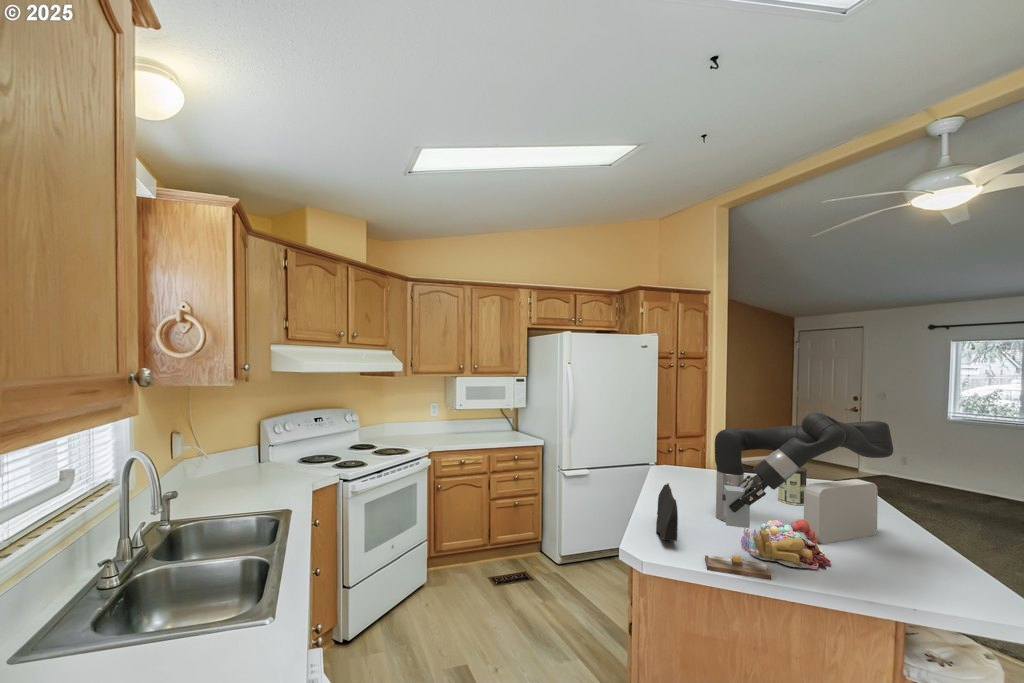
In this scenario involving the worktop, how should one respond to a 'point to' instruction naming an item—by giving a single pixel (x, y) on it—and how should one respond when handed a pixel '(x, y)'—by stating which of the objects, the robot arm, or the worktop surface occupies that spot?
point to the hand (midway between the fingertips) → (729, 506)
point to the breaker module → (743, 514)
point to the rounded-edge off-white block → (841, 509)
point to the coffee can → (793, 488)
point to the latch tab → (737, 558)
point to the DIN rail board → (737, 567)
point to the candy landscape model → (785, 545)
